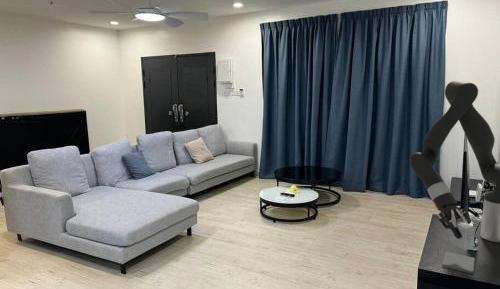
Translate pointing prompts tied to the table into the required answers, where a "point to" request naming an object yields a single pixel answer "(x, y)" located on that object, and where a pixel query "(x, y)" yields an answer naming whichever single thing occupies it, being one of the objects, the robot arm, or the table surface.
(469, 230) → the medicine box
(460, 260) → the rubber mat
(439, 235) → the table surface
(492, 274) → the table surface
